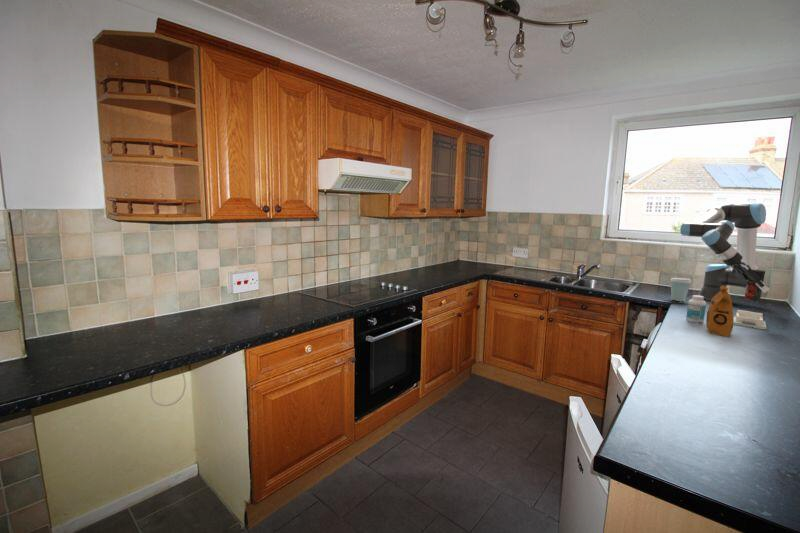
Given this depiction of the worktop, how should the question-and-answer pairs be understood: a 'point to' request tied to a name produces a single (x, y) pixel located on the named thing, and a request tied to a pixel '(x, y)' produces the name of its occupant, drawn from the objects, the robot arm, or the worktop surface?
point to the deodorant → (754, 287)
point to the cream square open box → (749, 319)
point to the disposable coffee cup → (679, 288)
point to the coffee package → (720, 314)
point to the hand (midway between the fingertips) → (762, 289)
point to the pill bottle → (696, 309)
